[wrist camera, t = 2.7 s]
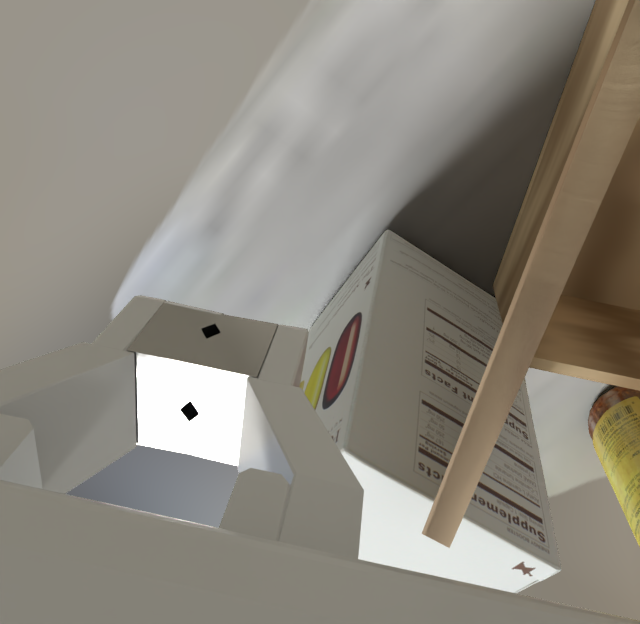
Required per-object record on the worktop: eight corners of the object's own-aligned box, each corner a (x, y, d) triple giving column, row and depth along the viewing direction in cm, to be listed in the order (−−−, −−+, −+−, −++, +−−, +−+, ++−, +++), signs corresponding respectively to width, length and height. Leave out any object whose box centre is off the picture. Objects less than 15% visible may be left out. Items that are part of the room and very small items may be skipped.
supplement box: (386, 222, 31) (345, 441, 17) (516, 306, 32) (576, 571, 19) (304, 333, 36) (222, 570, 22) (419, 401, 38) (408, 663, 24)
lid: (760, -161, 8) (692, -165, 8) (449, 548, 17) (421, 533, 17) (694, -60, 17) (663, -64, 17) (514, 367, 26) (495, 360, 26)
